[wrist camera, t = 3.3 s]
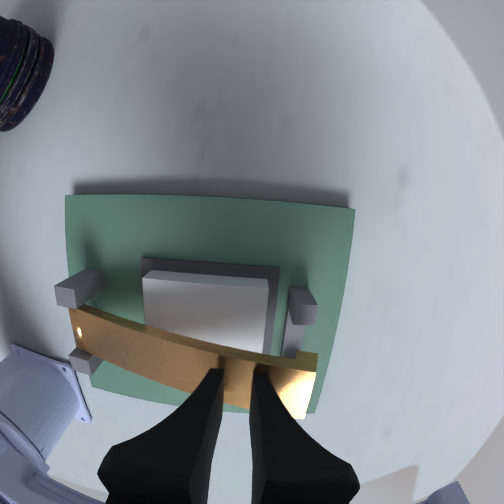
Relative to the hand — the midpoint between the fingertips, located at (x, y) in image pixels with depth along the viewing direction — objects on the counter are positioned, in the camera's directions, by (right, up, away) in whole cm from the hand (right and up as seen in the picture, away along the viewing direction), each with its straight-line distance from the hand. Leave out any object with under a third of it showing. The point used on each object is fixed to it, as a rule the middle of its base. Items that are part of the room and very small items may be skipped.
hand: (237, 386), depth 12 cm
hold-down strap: (-3, +1, +3) cm, 4 cm away
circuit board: (-3, +2, +7) cm, 8 cm away
